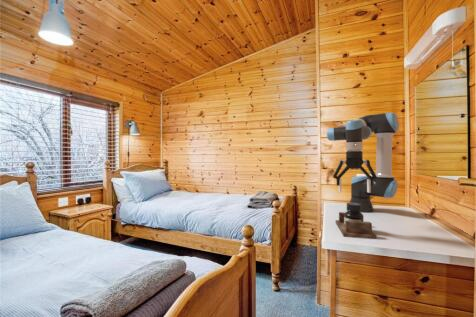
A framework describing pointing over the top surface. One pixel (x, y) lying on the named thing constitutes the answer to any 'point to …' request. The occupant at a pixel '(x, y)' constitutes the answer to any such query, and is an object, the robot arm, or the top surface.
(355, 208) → the ink bottle
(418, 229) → the top surface
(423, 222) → the top surface
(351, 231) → the cradle
